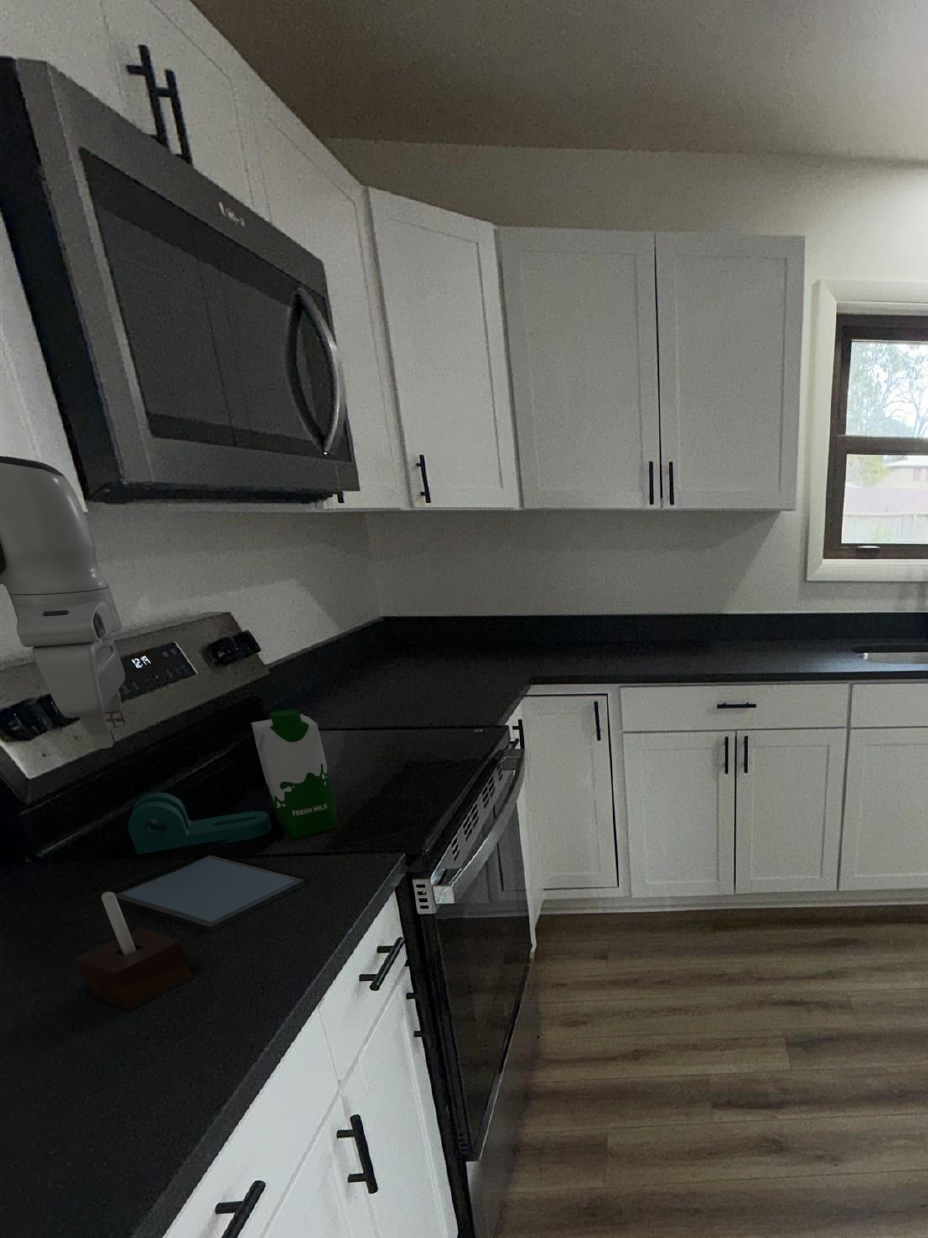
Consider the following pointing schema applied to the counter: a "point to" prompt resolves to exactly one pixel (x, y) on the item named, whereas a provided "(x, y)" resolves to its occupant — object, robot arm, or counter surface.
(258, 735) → the milk carton
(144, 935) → the pen holder
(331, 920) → the counter surface
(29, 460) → the robot arm
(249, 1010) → the counter surface
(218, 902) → the plate
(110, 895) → the stylus
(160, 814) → the bracket
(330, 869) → the counter surface
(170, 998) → the counter surface
